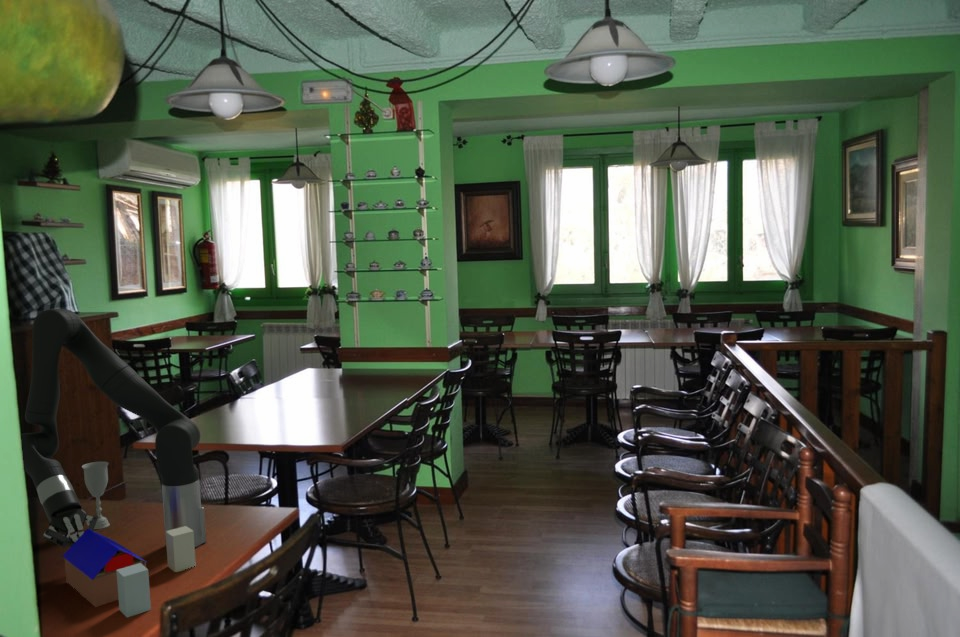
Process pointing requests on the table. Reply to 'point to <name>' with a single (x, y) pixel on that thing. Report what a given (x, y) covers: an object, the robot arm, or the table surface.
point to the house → (97, 566)
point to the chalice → (97, 486)
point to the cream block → (180, 548)
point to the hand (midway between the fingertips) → (84, 556)
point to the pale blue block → (133, 590)
